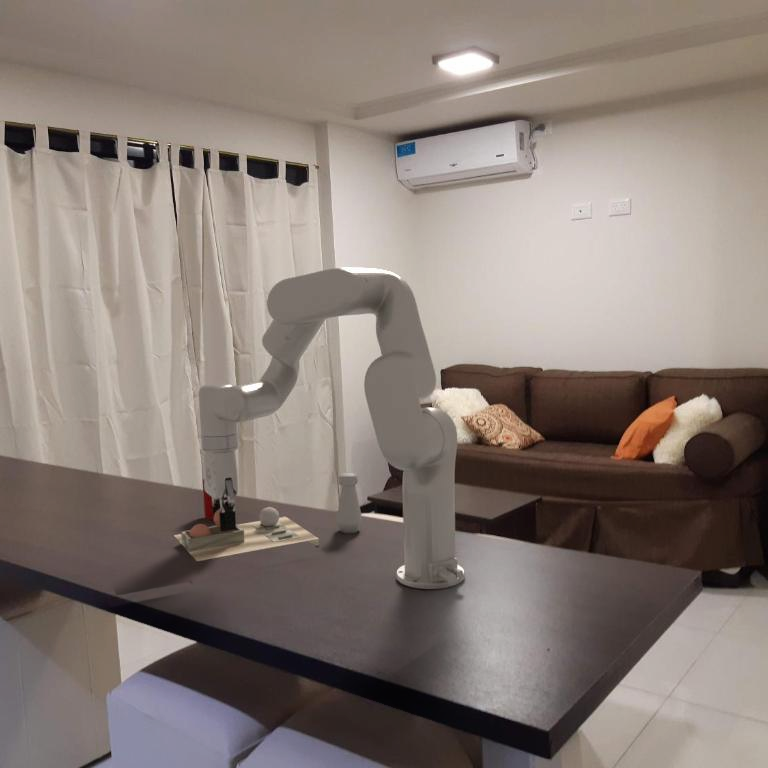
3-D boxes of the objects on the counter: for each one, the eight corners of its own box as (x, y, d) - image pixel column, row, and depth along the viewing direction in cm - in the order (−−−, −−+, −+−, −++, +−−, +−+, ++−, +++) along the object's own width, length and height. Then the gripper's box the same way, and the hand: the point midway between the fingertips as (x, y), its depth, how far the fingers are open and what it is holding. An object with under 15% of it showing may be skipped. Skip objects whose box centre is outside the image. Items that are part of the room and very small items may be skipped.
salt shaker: (351, 536, 169) (349, 478, 168) (331, 532, 173) (329, 475, 171) (367, 529, 174) (365, 472, 173) (348, 525, 177) (346, 470, 176)
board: (319, 545, 163) (318, 527, 163) (197, 568, 151) (196, 548, 151) (285, 522, 181) (285, 506, 181) (174, 541, 169) (173, 524, 169)
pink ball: (214, 545, 161) (212, 525, 160) (193, 549, 159) (191, 528, 158) (208, 540, 165) (207, 520, 164) (187, 543, 163) (186, 523, 162)
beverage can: (230, 525, 180) (227, 475, 179) (201, 526, 181) (199, 475, 179) (236, 517, 187) (234, 468, 186) (209, 517, 187) (206, 469, 186)
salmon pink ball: (217, 532, 161) (216, 511, 160) (211, 527, 165) (210, 507, 164) (237, 529, 163) (236, 508, 162) (231, 524, 167) (230, 504, 166)
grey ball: (282, 527, 172) (281, 508, 171) (263, 530, 170) (262, 511, 169) (275, 522, 176) (274, 503, 175) (257, 525, 174) (256, 506, 173)
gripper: (192, 438, 167) (196, 520, 169) (213, 451, 153) (218, 540, 155) (225, 434, 171) (230, 515, 173) (249, 446, 156) (254, 534, 158)
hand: (224, 526), depth 164 cm, fingers open, 4 cm apart
